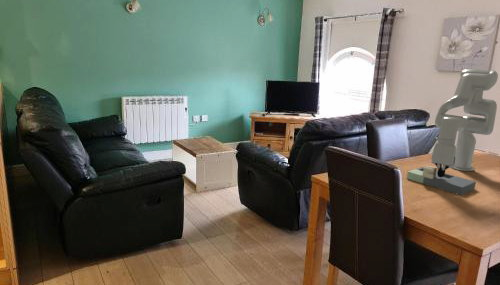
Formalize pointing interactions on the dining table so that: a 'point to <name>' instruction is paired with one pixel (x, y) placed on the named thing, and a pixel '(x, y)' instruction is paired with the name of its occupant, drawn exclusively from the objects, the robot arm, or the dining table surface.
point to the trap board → (443, 181)
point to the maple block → (429, 172)
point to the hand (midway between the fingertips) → (440, 176)
